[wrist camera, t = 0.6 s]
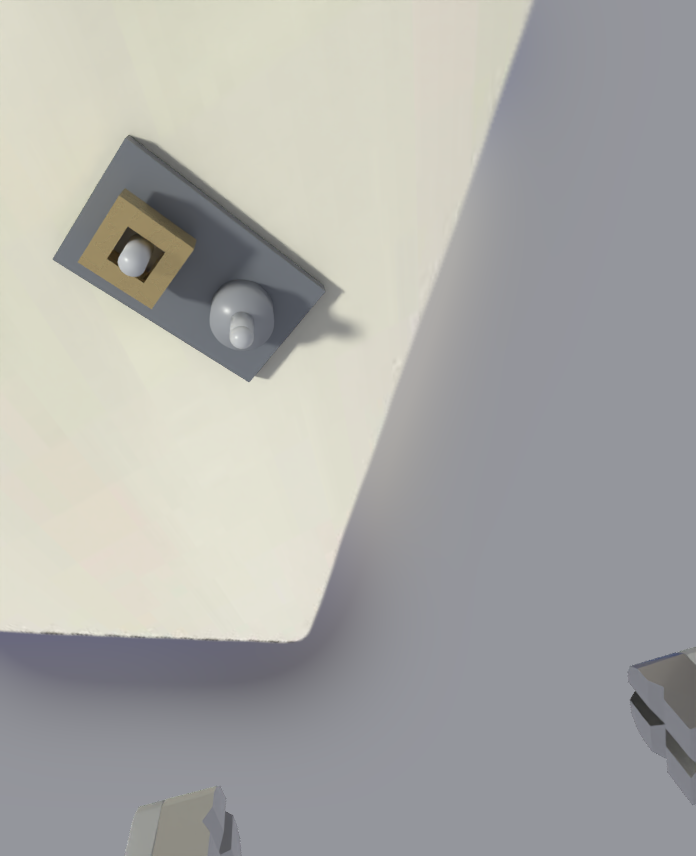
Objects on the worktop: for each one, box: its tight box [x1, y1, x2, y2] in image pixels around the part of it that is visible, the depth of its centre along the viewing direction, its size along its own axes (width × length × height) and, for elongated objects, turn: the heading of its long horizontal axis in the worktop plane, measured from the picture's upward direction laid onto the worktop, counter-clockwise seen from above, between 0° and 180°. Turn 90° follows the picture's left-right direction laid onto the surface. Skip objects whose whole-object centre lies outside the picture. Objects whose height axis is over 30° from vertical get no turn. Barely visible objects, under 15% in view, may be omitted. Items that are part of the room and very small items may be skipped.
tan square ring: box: [78, 188, 196, 309], centre depth 46 cm, size 6×6×2 cm
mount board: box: [53, 135, 325, 382], centre depth 49 cm, size 12×20×8 cm, turn 49°
